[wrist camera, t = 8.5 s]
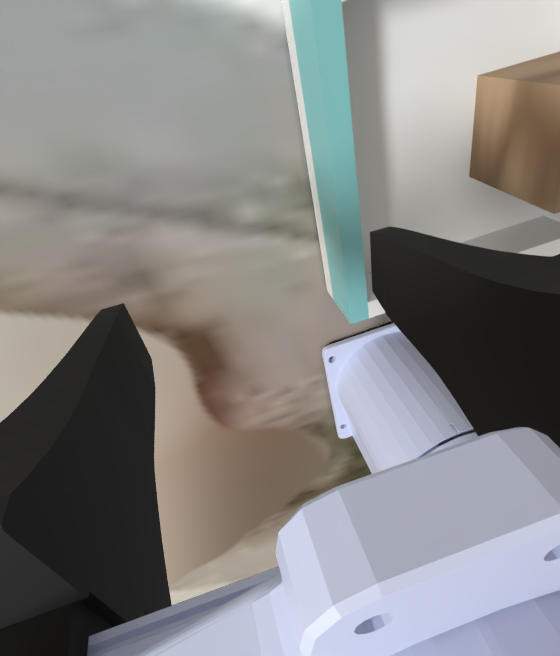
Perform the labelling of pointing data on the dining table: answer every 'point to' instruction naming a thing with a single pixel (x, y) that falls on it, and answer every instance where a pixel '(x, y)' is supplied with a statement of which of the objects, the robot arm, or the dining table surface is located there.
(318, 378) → the dining table surface
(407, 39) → the tray
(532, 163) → the walnut block
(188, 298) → the dining table surface
